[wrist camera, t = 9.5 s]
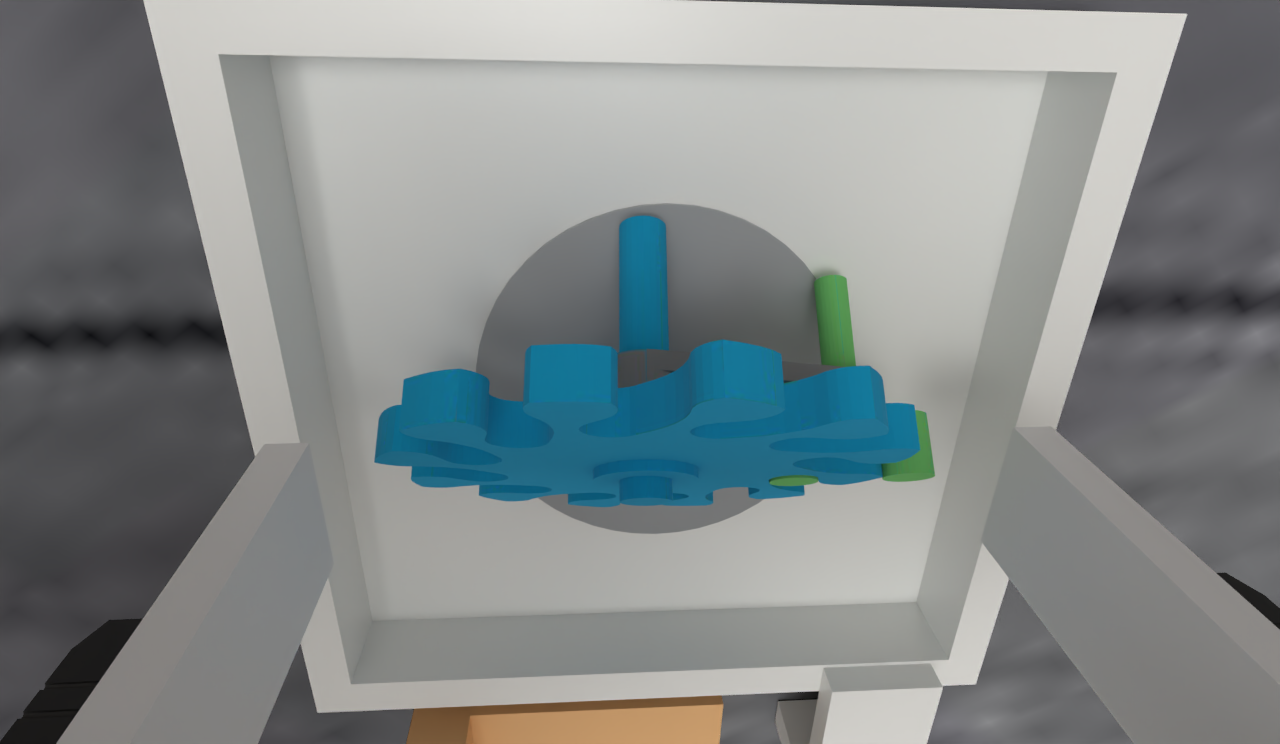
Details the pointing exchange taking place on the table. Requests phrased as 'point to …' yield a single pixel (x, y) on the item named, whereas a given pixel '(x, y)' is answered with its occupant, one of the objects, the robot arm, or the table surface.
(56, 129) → the table surface
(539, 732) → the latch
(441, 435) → the gear
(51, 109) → the table surface
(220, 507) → the robot arm
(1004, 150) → the tray
